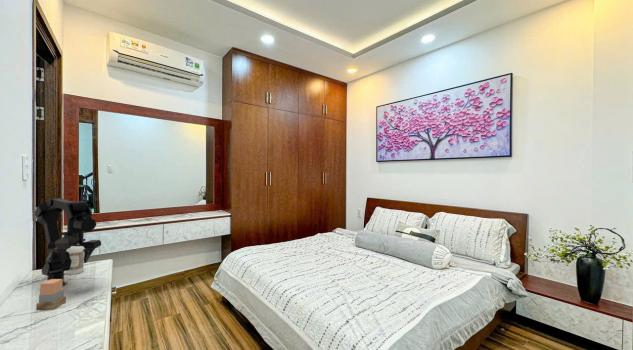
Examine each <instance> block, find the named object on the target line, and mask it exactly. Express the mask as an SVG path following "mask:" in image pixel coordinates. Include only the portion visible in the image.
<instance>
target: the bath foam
mask: <svg viewBox="0 0 633 350" xmlns="http://www.w3.org/2000/svg"><path fill="white" fill-rule="evenodd" d="M83 249H85V248H84V247H83V246H71V247H70V248H69V249H67V251H68V252H69V255H70V258H71V260H72V263H71V266H70V270H67V271H65V274H66V275H68V276H71V275H78V274H81V273H83V271H84V267H85V266H84V264H85V263H84V251H83ZM67 251H66V252H67Z"/></svg>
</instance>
